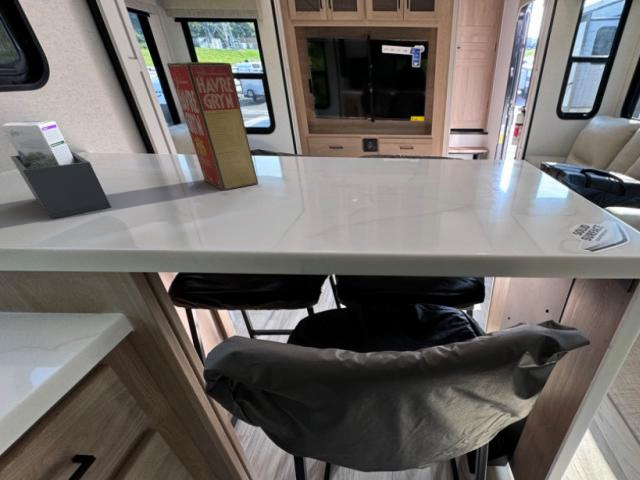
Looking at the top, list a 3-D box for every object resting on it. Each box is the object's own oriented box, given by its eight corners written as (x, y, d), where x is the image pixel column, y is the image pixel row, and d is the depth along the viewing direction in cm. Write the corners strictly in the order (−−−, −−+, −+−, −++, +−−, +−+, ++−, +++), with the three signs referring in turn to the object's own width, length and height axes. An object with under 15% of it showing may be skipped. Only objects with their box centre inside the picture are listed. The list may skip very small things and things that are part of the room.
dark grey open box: (36, 199, 72) (10, 156, 67) (90, 190, 78) (69, 149, 73) (51, 219, 63) (22, 170, 58) (111, 207, 69) (89, 162, 64)
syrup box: (93, 194, 73) (56, 119, 65) (79, 202, 68) (37, 123, 60) (62, 196, 72) (20, 120, 64) (46, 204, 67) (-2, 123, 59)
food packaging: (201, 180, 87) (164, 61, 72) (237, 174, 92) (209, 63, 78) (222, 191, 79) (185, 61, 65) (260, 183, 84) (233, 62, 70)
